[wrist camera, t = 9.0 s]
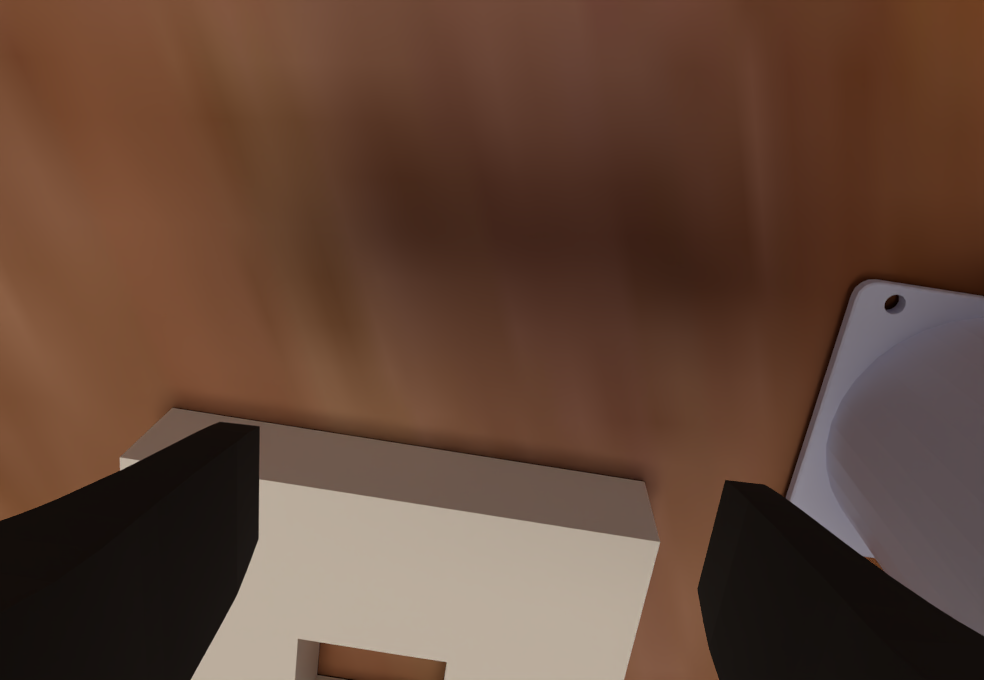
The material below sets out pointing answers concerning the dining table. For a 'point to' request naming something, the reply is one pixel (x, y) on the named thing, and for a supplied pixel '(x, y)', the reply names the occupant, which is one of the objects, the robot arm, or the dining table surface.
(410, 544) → the key housing
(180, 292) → the dining table surface
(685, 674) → the dining table surface
